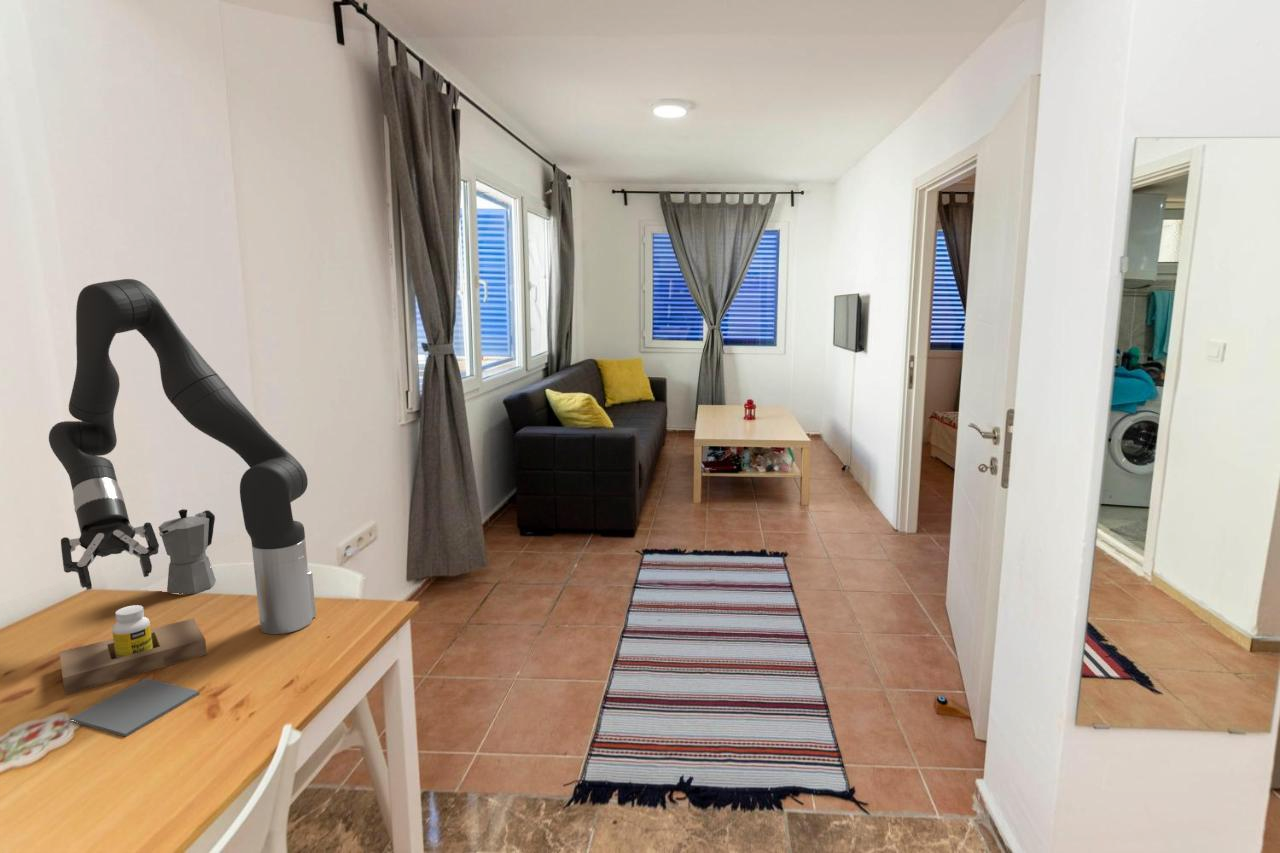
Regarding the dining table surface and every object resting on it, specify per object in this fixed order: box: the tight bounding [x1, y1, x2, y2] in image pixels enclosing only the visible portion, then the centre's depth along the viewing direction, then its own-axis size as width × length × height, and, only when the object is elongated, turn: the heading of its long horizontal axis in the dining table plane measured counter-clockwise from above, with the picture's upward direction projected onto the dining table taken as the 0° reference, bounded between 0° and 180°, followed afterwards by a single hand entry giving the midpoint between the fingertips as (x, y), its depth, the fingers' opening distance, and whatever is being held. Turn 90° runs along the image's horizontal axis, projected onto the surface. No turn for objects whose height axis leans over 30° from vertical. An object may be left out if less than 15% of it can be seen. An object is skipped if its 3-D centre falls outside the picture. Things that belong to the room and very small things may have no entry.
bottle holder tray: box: [59, 617, 208, 696], centre depth 124 cm, size 20×11×3 cm, turn 131°
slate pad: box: [69, 677, 201, 737], centre depth 111 cm, size 12×12×1 cm
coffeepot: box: [158, 508, 217, 595], centre depth 155 cm, size 15×9×18 cm, turn 174°
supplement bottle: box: [111, 604, 153, 659], centre depth 124 cm, size 5×5×10 cm
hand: (118, 581), depth 128 cm, fingers open, 8 cm apart
